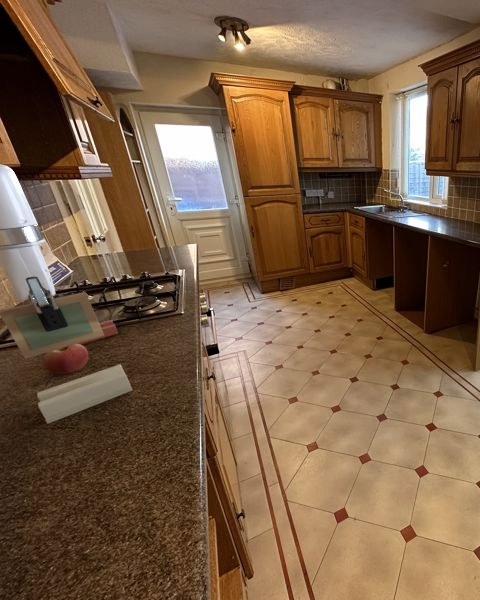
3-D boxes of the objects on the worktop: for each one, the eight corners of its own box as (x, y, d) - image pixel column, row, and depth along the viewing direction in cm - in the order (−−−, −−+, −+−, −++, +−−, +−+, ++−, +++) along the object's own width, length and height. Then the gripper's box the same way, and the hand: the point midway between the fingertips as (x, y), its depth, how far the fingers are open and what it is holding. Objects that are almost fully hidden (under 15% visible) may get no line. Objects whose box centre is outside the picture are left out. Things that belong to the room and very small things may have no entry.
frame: (24, 356, 64) (-1, 310, 60) (103, 333, 72) (85, 291, 68) (25, 359, 63) (-2, 312, 59) (104, 335, 71) (86, 293, 67)
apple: (100, 359, 87) (89, 333, 84) (82, 376, 80) (69, 349, 77) (64, 364, 85) (51, 337, 82) (42, 382, 78) (27, 354, 75)
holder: (45, 406, 70) (36, 391, 68) (125, 376, 80) (119, 362, 78) (47, 424, 65) (38, 408, 64) (132, 390, 75) (126, 376, 73)
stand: (53, 347, 93) (47, 335, 91) (115, 330, 102) (110, 318, 101) (55, 357, 88) (49, 345, 86) (120, 338, 97) (115, 326, 96)
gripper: (-17, 235, 61) (29, 322, 68) (-23, 247, 51) (31, 347, 58) (40, 229, 66) (77, 310, 73) (44, 239, 56) (87, 332, 63)
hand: (56, 326), depth 65 cm, fingers closed on frame, 1 cm apart
